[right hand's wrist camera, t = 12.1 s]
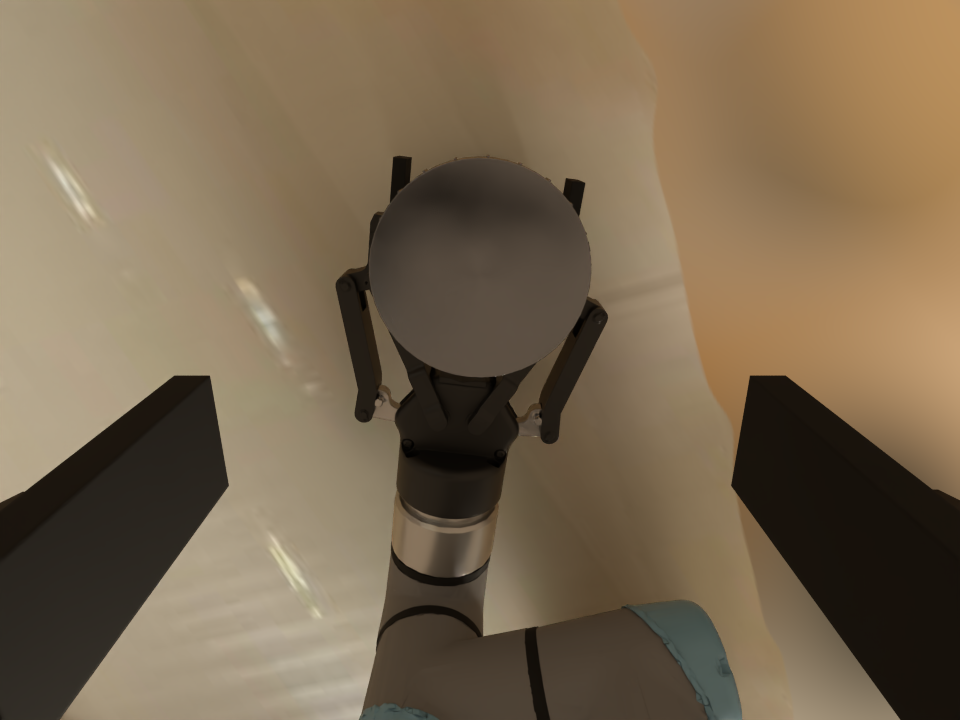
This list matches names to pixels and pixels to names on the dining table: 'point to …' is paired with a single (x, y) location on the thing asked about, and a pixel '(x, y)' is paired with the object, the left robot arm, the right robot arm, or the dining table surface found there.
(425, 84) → the dining table surface
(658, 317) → the dining table surface
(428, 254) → the lid
